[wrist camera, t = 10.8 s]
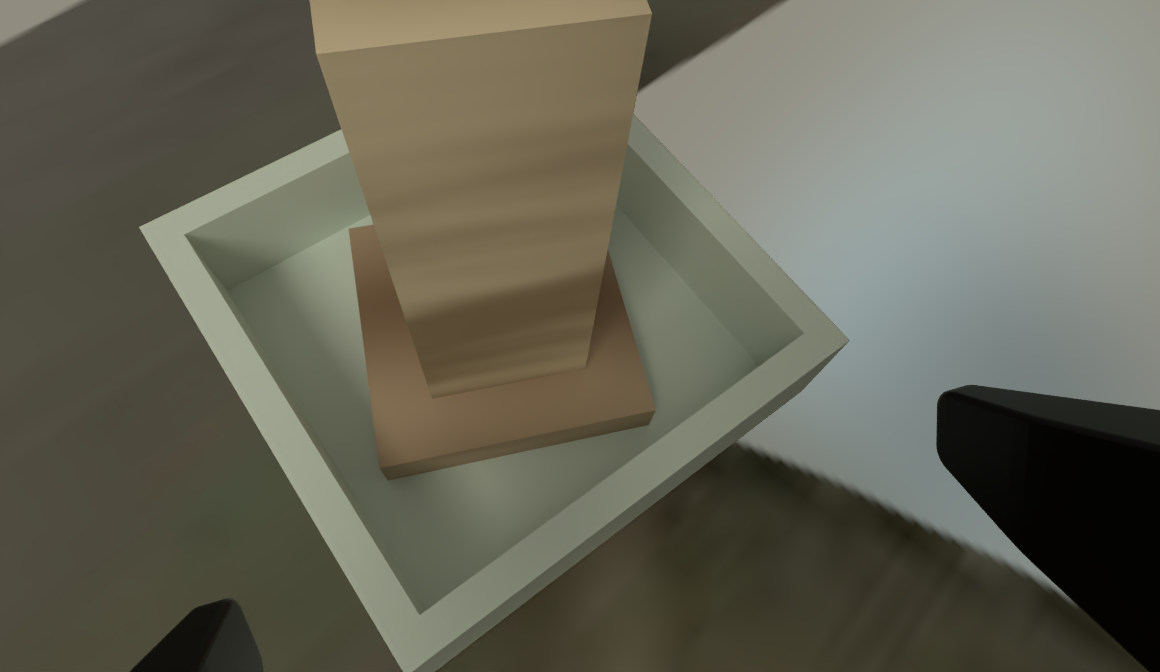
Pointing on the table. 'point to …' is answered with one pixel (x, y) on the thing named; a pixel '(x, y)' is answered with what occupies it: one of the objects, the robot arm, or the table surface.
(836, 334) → the box
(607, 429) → the wooden block tower
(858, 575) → the table surface
